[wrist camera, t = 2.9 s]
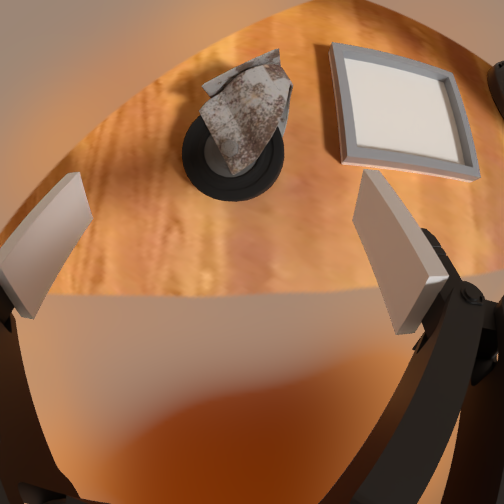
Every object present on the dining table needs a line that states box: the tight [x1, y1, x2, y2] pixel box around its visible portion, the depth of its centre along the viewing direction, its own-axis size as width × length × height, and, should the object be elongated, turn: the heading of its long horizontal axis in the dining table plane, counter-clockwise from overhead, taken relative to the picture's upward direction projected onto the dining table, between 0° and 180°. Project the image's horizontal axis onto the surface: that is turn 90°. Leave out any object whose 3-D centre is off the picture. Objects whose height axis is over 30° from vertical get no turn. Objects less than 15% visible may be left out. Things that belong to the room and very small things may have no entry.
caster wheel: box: [182, 49, 293, 202], centre depth 23 cm, size 7×11×10 cm
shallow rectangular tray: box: [328, 42, 481, 182], centre depth 25 cm, size 16×14×2 cm
